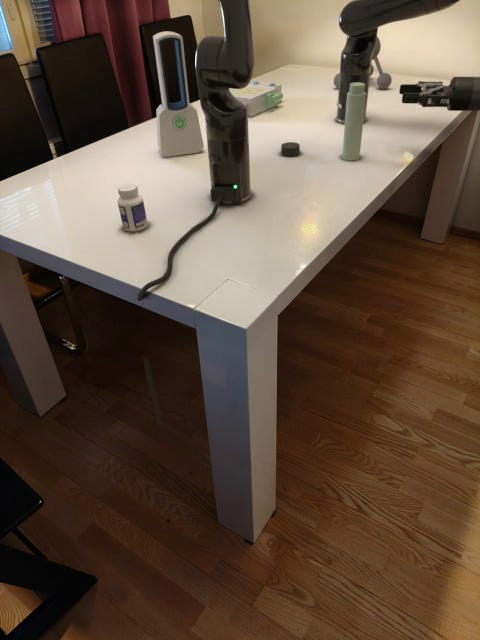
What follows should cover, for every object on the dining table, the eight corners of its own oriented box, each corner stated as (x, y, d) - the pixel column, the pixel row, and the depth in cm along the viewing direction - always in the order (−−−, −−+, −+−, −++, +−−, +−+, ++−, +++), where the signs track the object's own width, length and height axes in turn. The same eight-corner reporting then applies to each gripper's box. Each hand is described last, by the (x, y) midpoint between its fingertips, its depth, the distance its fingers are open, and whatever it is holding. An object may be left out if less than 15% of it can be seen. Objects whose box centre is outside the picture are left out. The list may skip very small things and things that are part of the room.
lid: (290, 149, 139) (290, 140, 138) (303, 153, 136) (303, 144, 135) (277, 153, 137) (277, 145, 136) (290, 158, 134) (290, 149, 132)
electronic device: (161, 157, 138) (144, 37, 120) (158, 149, 144) (140, 33, 126) (204, 151, 141) (193, 32, 122) (199, 144, 146) (188, 28, 128)
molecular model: (320, 82, 200) (324, -5, 182) (368, 76, 205) (377, -10, 186) (347, 95, 182) (354, 0, 164) (399, 88, 187) (412, -5, 168)
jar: (353, 161, 129) (360, 87, 118) (338, 158, 132) (344, 84, 121) (362, 156, 132) (370, 83, 121) (348, 153, 135) (354, 81, 123)
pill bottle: (149, 220, 107) (142, 181, 102) (146, 231, 103) (138, 191, 98) (125, 221, 107) (116, 182, 102) (121, 232, 103) (112, 193, 98)
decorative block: (245, 78, 184) (291, 83, 175) (246, 96, 188) (291, 102, 178) (203, 94, 168) (250, 100, 159) (204, 113, 172) (251, 121, 162)
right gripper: (469, 70, 121) (401, 70, 123) (480, 84, 110) (405, 84, 112) (461, 102, 125) (396, 101, 128) (471, 118, 114) (400, 117, 117)
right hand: (401, 93), depth 120 cm, fingers open, 8 cm apart
